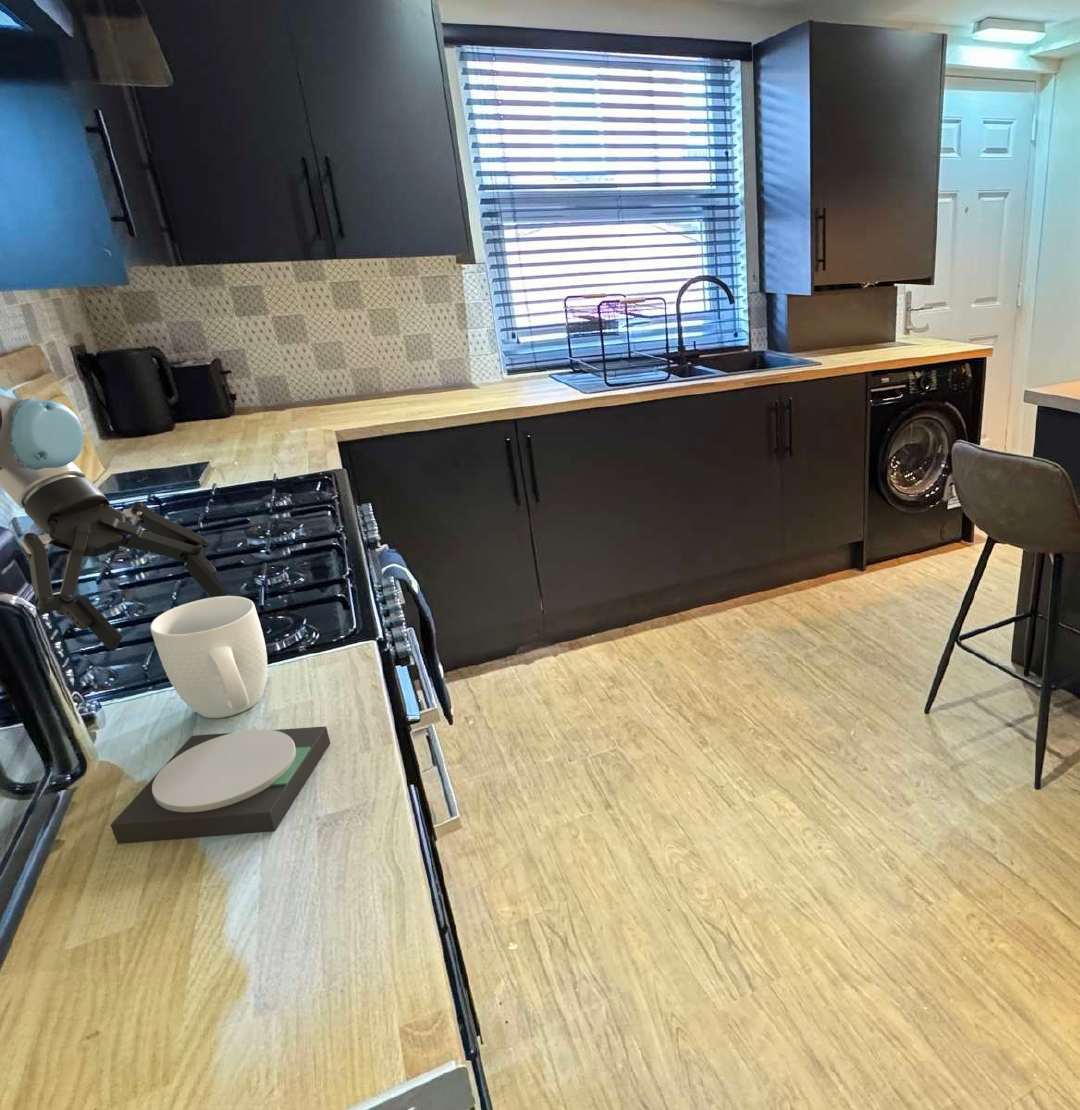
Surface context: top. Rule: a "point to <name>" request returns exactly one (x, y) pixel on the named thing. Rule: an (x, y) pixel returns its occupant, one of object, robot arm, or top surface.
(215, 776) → the scale
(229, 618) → the mug
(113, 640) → the robot arm
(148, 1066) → the top surface
